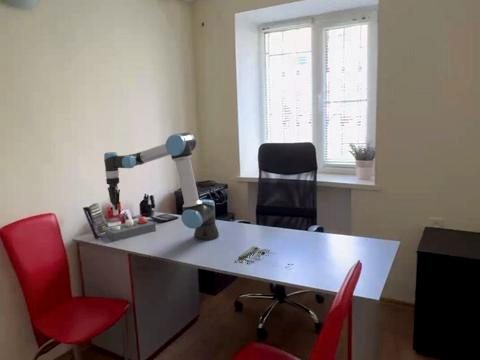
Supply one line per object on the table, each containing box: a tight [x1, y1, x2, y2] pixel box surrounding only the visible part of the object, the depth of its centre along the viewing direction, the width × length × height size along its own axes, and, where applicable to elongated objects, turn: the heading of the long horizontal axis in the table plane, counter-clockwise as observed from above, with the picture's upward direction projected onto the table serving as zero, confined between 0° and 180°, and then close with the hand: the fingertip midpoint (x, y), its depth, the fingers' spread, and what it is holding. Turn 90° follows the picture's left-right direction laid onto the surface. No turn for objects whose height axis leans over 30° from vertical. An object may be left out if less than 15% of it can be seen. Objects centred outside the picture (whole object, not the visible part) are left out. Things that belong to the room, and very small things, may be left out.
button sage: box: [112, 225, 120, 231], centre depth 236 cm, size 5×5×4 cm
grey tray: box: [103, 219, 157, 242], centre depth 242 cm, size 16×28×5 cm, turn 132°
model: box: [234, 245, 272, 264], centre depth 193 cm, size 21×30×2 cm
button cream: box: [124, 218, 134, 228], centre depth 242 cm, size 5×5×4 cm
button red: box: [137, 216, 147, 225], centre depth 248 cm, size 5×5×4 cm
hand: (115, 214), depth 235 cm, fingers closed
